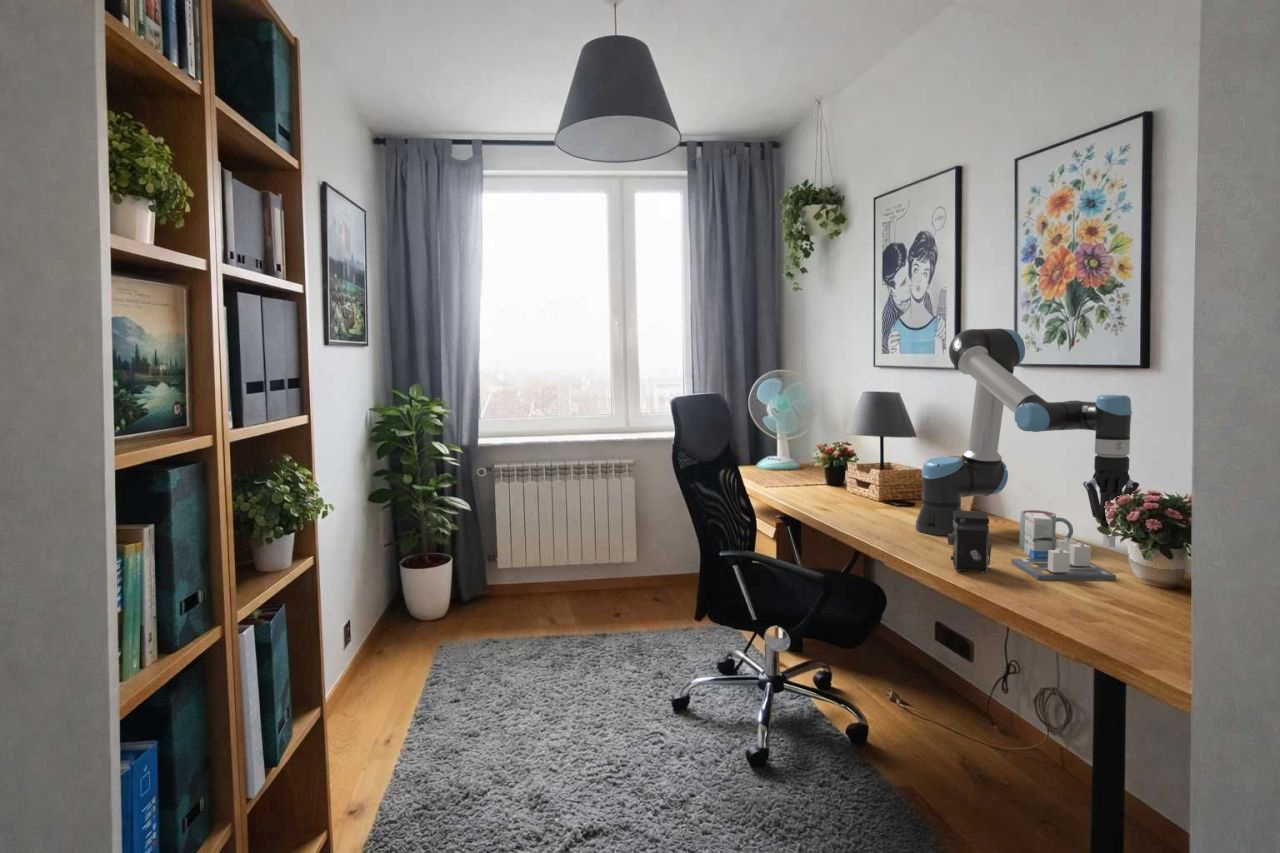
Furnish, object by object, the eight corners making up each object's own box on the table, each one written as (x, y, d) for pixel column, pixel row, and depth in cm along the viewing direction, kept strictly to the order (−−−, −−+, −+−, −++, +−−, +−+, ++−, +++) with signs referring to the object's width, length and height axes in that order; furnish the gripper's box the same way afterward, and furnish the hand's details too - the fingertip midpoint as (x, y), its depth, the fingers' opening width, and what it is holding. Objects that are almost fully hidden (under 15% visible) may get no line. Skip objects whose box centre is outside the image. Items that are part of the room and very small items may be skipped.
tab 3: (1068, 563, 193) (1069, 542, 193) (1084, 563, 193) (1085, 542, 192) (1073, 565, 191) (1074, 544, 190) (1089, 565, 190) (1090, 544, 190)
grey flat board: (1011, 563, 200) (1011, 557, 200) (1083, 562, 199) (1083, 557, 199) (1037, 579, 185) (1037, 573, 185) (1115, 579, 184) (1115, 573, 184)
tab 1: (1055, 557, 199) (1055, 536, 198) (1070, 557, 198) (1071, 536, 198) (1060, 559, 196) (1060, 539, 196) (1075, 559, 196) (1076, 539, 195)
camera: (987, 564, 200) (989, 509, 198) (992, 575, 190) (994, 518, 188) (946, 561, 203) (947, 507, 202) (948, 572, 193) (950, 516, 192)
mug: (1021, 549, 214) (1022, 515, 213) (1017, 541, 222) (1019, 509, 221) (1075, 553, 208) (1076, 518, 207) (1069, 545, 217) (1071, 512, 216)
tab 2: (1047, 569, 188) (1048, 547, 188) (1063, 569, 188) (1064, 547, 187) (1052, 572, 186) (1053, 550, 185) (1069, 572, 185) (1070, 550, 185)
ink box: (1052, 561, 201) (1054, 519, 200) (1032, 560, 202) (1034, 518, 201) (1042, 552, 210) (1043, 512, 209) (1023, 552, 211) (1024, 511, 210)
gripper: (1093, 457, 185) (1090, 549, 187) (1147, 456, 184) (1144, 549, 186) (1077, 453, 193) (1075, 542, 195) (1129, 453, 192) (1126, 542, 194)
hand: (1108, 545), depth 191 cm, fingers closed
